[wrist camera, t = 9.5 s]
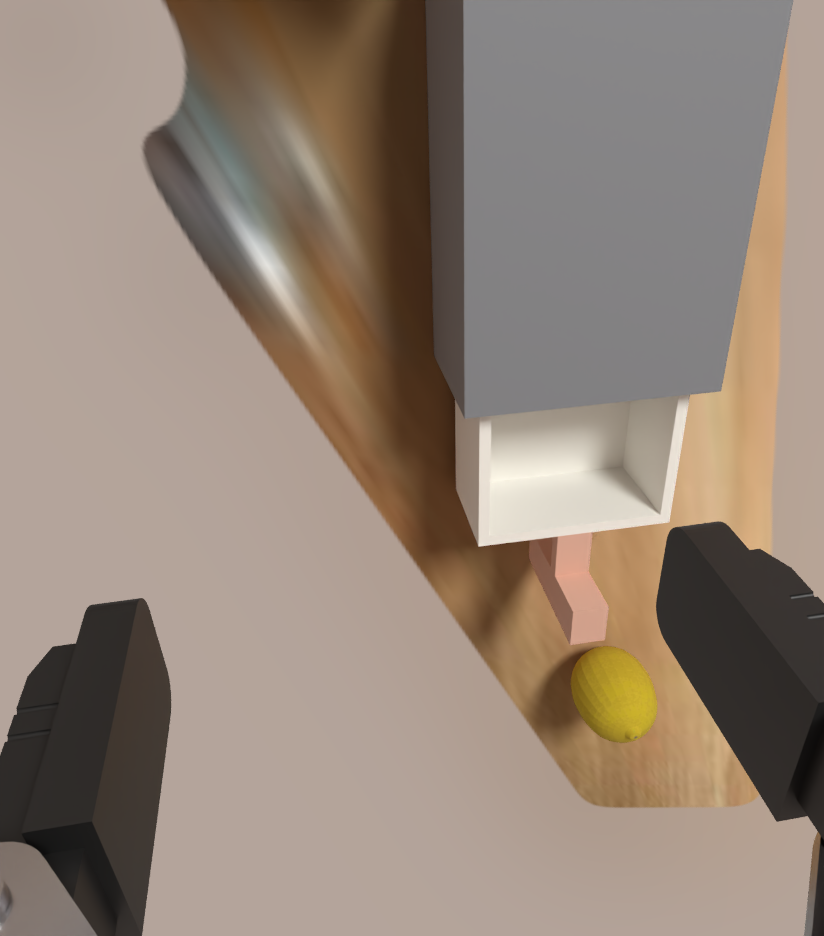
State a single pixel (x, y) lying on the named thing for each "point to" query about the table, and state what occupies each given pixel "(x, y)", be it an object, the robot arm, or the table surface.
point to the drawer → (569, 488)
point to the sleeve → (593, 193)
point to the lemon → (614, 694)
